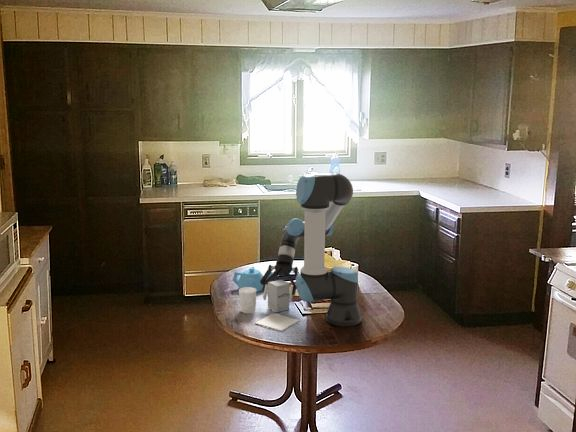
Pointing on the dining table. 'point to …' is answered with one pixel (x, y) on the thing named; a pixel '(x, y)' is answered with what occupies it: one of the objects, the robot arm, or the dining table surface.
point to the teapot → (249, 279)
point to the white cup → (247, 299)
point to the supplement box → (278, 295)
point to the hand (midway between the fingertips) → (277, 299)
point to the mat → (277, 322)
